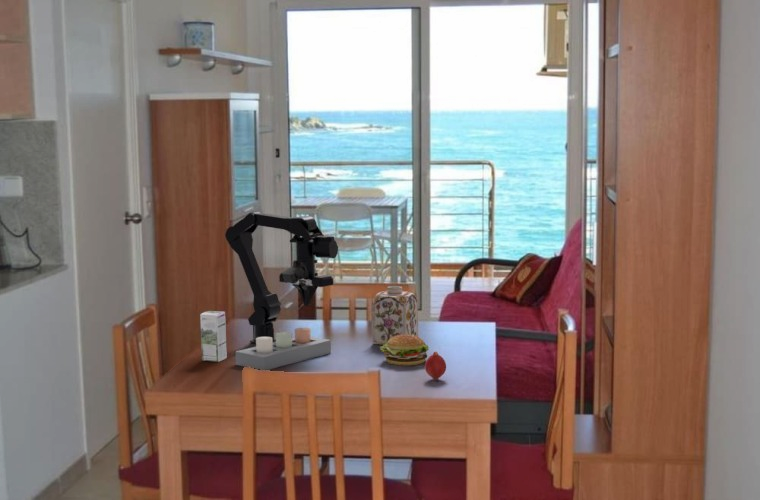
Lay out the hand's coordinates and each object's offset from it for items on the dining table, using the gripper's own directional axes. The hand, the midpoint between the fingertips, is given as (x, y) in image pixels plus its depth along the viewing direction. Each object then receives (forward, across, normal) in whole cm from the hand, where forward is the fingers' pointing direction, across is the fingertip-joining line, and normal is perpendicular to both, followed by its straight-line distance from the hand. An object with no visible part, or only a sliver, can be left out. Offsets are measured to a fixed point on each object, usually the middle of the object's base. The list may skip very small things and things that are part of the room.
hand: (306, 306), depth 322 cm
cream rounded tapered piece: (+12, +6, -24) cm, 27 cm away
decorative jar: (+13, +18, +22) cm, 31 cm away
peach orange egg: (+12, +6, -8) cm, 15 cm away
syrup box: (+13, -10, -30) cm, 34 cm away
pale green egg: (+12, +6, -16) cm, 21 cm away
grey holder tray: (+13, +6, -16) cm, 21 cm away
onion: (+13, +57, -8) cm, 59 cm away
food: (+13, +37, +3) cm, 39 cm away
